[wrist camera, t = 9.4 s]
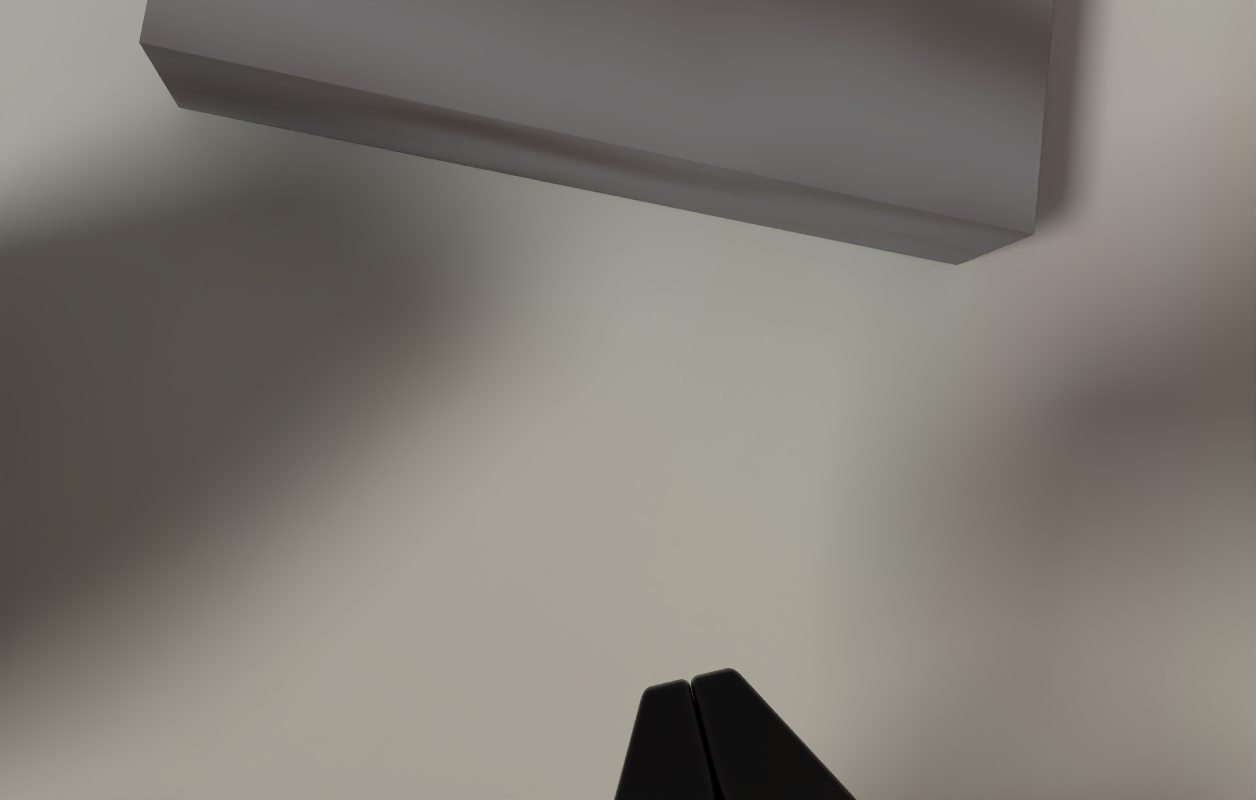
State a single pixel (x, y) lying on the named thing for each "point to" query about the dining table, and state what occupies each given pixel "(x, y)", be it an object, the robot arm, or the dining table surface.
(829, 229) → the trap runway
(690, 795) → the robot arm
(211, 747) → the dining table surface
